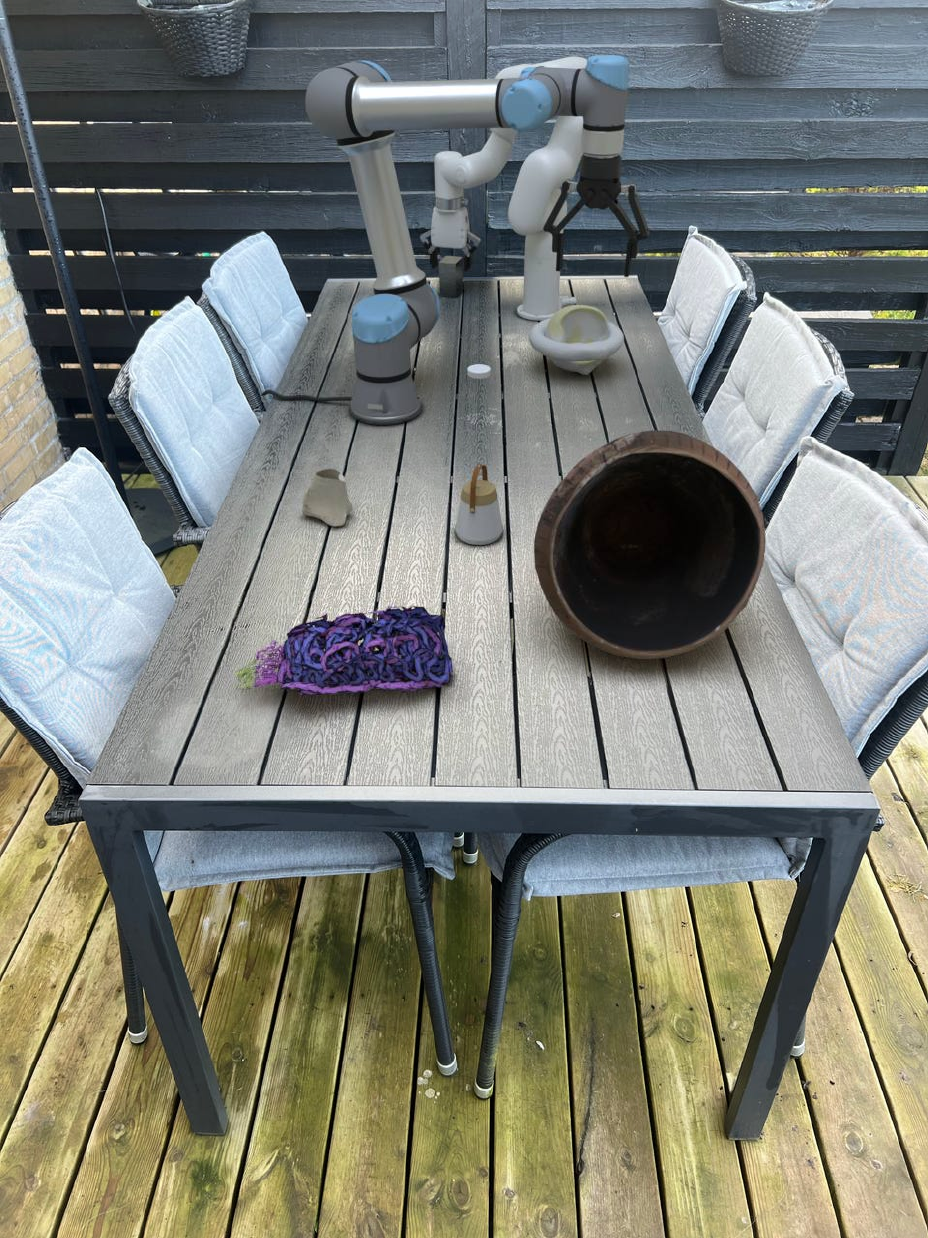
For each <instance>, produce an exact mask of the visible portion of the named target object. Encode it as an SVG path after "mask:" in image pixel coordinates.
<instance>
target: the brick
mask: <svg viewBox="0 0 928 1238" xmlns="http://www.w3.org/2000/svg"><path fill="white" fill-rule="evenodd" d="M438 285H439V286H438V287H439V289H438V290H439V297H443V298H444V297H446V298H458V297H459V296H460V295H461V293H462V292H463V291H464V256H454V255H445V256H444V257H443V258H441V260H439V261H438Z"/></svg>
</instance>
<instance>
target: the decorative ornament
mask: <svg viewBox="0 0 928 1238" xmlns="http://www.w3.org/2000/svg"><path fill="white" fill-rule="evenodd" d="M401 608H402V609H400V607H398V606H391V605H390V606H387V608H386V609H385V610H375V611H369V612H357V613H347V612H346V613H345V614H341V615H339V616H336V617H335V619H333V620H328V613H325V614H323V615H322V616H317V617H316V618H314V620H313V621H309V622H303V623H300V624H298V625H294V627H292V628H291V629H290V630H289V631H288V632H287V633H286V636H287V639H286V640H284V643H283V644H280V645H278V646H277V644H278V641H277V640H274V639H273V640H272V641H270V643H268V644H269V646H265V649H264V648H262V649H261V650H260V651H259V650H258V651H257V653H256V655H255V656H254V657H255V658H254V659H253V660H252V661H250V663H248V664H247V665H245V666H243V667H241V668H239V669H238V670H236V673H235V675H236V677H235V679H238V681H239V683H238V684H237V686H236V688H235V690H238V689H240V687H239V686H242V685H243V684H244V685H243V686H242V687H241V689H242V690H241V693H243V692H244V690H251V689H260V688H261V689H260V690H262V691H263V688H264V686H266V688H267V690H268V689H269V690H270V689H273V687H269V688H268V686H271V685H276V689H280V690H285V692H286V693H289V691H290V690H298V691H297V693H298V695H301V696H310V697H311V696H312V697H317V696H331V695H342V694H347V693H348V694H365V693H370V690H395V691H397V690H402V691H403V692H404V693H405V692H419V691H420V690H421V689H433V688H434V689H436V688H438V689H439V688H442V684H444V683H445V684H446V683H450V680H451V677H452V673H453V672H454V670H453V658H452V657H451V656H450V654H449V652H450V651H449V647H448V643H447V640H446V635H445V633H444V630H445V629H446V621H445V617H444V616H443V614H430V613H429V612H428V610H427V609H426V608H425V607H424V606H419V605H418V606H416V605H412V606H410V607H405V606H401ZM366 614H376V618H377V619H376V618H375V619H374V618H370V617H368V616H367V615H366ZM373 621H375V622H373ZM360 641H361V642H360ZM359 642H360V644H359ZM276 646H277V647H276ZM376 649H377V650H376ZM265 653H267V655H265ZM251 666H253V667H251ZM265 666H266V667H265ZM253 674H254V675H253ZM425 675H426V676H425ZM278 685H280V686H278ZM277 686H278V687H277Z"/></svg>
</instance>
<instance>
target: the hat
mask: <svg viewBox="0 0 928 1238" xmlns="http://www.w3.org/2000/svg"><path fill="white" fill-rule="evenodd" d="M528 341H529V345H530V346H531V347H532V348H533V350H535V351H536V352H537V353H538V354H541V355H543V356H545V357H548V358H549V359H550V360H551V361H552V363H553V364H554V365H555V366H556V367H558V368H560V369H562V370H563V371H568V372H573V373H578V374H581V375H583V376H587V375H589V374H590V373H591V372H593V371H594V369H595V368H596V367H597V366H599V365H600V364H601V363H602V362H603V361H604V360H605V359H606V358H608V357H612V356H613V355H615V354H616V353H617V352H619V350H621V348H622V347H623V345H624V342H625V335H624V332H623V331H622V330H621V328H619V326H617V325H616V324H614V323H612V322H610V321H609V320H608V318H607V317H606V315H605V313H604V312H603V311H602V310H601V309H600V308H598V307H595V306H591V305H586V304H574V305H566V306H564V307H563V308H562V309H560V310H559V311H557V312H556V313H555V314H554V315H553V316H552V318H549V319H547V320H544V321H539V322H538V323H536V324H535V325H534V326H532V328H531V329H530V331H529V333H528Z"/></svg>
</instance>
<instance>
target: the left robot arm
mask: <svg viewBox="0 0 928 1238" xmlns="http://www.w3.org/2000/svg"><path fill="white" fill-rule="evenodd" d="M586 60H587V65H586V66H585V68H582V69H571V68H553V67H544V66H539V67H526V68H524V69H523V70H522V72H521V75H520V76H519V78H506V79H495V78H481V79H480V78H478V79H477V78H475V79H473V78H472V79H448V80H446V79H444V80H418V81H417V80H415V81H413V80H412V81H393V80H392V78H391V77H390V75H389V74H388V73H387V71H386V69H384V68H382V67H381V65H379V64H377V63H375V62H373V61H371V60H364V59H363V60H350V61H348V62H345V63H343V64H340V65H337V66H333V67H330V68H326V69H324V70H321V71H320V72H319V73H317V74H315V76H314V77H313V78H312V79H311V81H310V82H309V84H308V86H307V89H306V92H305V99H304V101H305V102H304V103H305V111H306V115H307V117H308V120H309V121H310V123H311V125H312V126H313V127H314V128H315V130H317V132H319V133H320V134H321V135H323V136H325V137H327V138H329V139H333V140H336V143H337V144H336V145H337V147H338V148H339V149H340V150H342V151H343V152H344V153H345V154H346V155H347V156H348V157H347V158H348V161H349V164H350V169H351V173H352V177H353V180H354V181H353V182H354V185H355V189H356V193H357V197H358V201H359V205H360V209H361V214H362V218H363V221H364V227H365V230H366V234H367V238H368V243H369V247H370V251H371V254H372V260H373V263H374V267H375V271H376V278H375V280H374V282H373V284H372V289H373V294H372V295H371V296H366V297H364V298H362V299H361V300H358V302H356V303H355V305H354V307H353V308H352V310H351V311H352V312H351V322H350V324H351V331H352V341H353V352H354V363H355V364H354V365H355V373H356V374H355V375H356V379H355V383H354V388H353V395H352V396H329V397H328V396H327V397H326V396H325V397H319V396H314V395H313V396H312V395H308V394H295V395H283V394H280V393H278V392H276V391H275V390H272V389H266V390H263V392H262V393H261V394H260V395H261V396H262V397H266V396H267V395H272V396H274V397H275V398H278V399H280V400H285V401H293V400H309V401H314V402H350V413H351V415H352V417H353V418H354V419H356V420H357V421H359V422H362V423H364V424H369V425H375V426H393V425H398V424H403V423H406V422H409V421H411V420H413V419H415V418H417V416H419V415H420V413H421V411H422V401H421V396H420V395H419V393H418V390H417V386H416V385H415V381H414V378H413V377H412V363H411V362H412V361H411V350H412V349H413V348H414V347H415V346H416V345H417V344H418V343H419V342H420V341H422V340H423V339H424V338H426V337H427V336H428V335H429V334H430V333H431V332H432V330H433V329H434V328H435V327H436V325H437V324H438V321H439V318H440V314H441V302H440V299H439V295H438V293H437V291H436V290H435V288H434V287H432V286H431V285H430V283H429V282H428V279H427V275H426V273H425V272H424V271H423V270H421V269H420V268H419V267H417V262H416V258H415V257H416V256H415V253H414V249H413V244H412V239H411V236H410V231H409V227H408V222H407V217H406V212H405V208H404V203H403V199H402V198H403V197H402V195H401V190H400V186H399V181H398V177H397V171H396V167H395V162H394V158H393V153H392V149H391V142H392V141H393V139H394V137H395V136H396V131H410V130H412V131H414V130H416V131H418V130H458V129H460V130H462V129H490V128H512V129H514V130H516V131H518V133H519V132H521V133H526V132H527V133H528V132H532V131H535V130H538V129H539V128H541V127H542V126H543V125H544V124H545V123H546V122H548V121H549V120H551V119H553V118H554V117H558V116H575V117H579V116H582V117H583V131H582V146H581V151H582V152H583V154H582V156H581V159H580V162H579V164H580V165H579V166H580V167H579V180H578V182H577V181H573V180H570V179H566V180H565V181H564V182H563V184H562V187H561V189H560V190H561V194H560V196H559V198H558V200H557V202H556V204H555V206H554V208H553V210H552V212H551V214H550V216H549V217H548V219H547V221H546V223H545V225H544V227H543V230H544V231H545V232H549V233H551V234H552V252H557V257H556V271H560V272H561V270H562V269H563V266H564V246H565V245H564V244H565V232H563V233H560V231H561V230H562V229H563V228H564V229H565V227H567V225H568V224H569V223H570V222H571V221H572V219H573V218H574V217H575V216H576V215H577V214H578V213H579V211H581V209H582V208H583V207H584V206H585V207H586V208H588V209H590V210H593V209H598V210H602V211H603V210H604V211H605V210H607V209H609V210H610V211H611V213H612V214H613V215H614V216H615V217H616V220H618V222H619V224H620V225H621V226H622V229H624V231H625V232H626V234H627V235H628V237H629V239H628V240H627V243H626V253H625V264H624V274H623V275H624V276H623V277H624V278H629V276H630V275H631V270H632V259H633V260H635V259H636V258H637V256H638V254H639V247H640V246H639V244H640V241H642V240H646V239H648V237H649V236H650V228H649V226H648V224H647V223H648V222H647V221H646V217H645V215H644V212H643V209H642V207H641V204H640V200H639V198H638V185H637V183H635V182H632V183H630V184H622V182H621V174H622V164H623V163H622V162H623V157H622V156H621V153H623V149H624V138H625V125H626V124H625V123H626V115H627V114H626V113H627V102H628V94H629V89H630V86H629V72H630V71H629V68H630V67H629V66H630V64H629V60H628V59H627V58H626V57H625V56H622V55H617V54H595V55H591V56H589V57H588V58H587V59H586ZM574 190H576V192H577V193H578V196H579V197H580V199H579V200H578V201H577V202H576V204H574V206H573V207H572V208H571V209H570V211H568V212H567V215H566V216H565V217H564V218H563V219H562V221H561V222H560V223H559V224H558V225H557V226H555V225H553V223H554V222H555V220H556V218H557V216H558V214H559V212H560V210H561V208H562V206H563V205H564V203H565V201H567V199H568V197H569V195H571V194H573V192H574ZM621 193H623V194H624V197H625V198H626V199H628V204H629V205H630V206H629V207H630V209H631V213H632V215H633V218H634V221H635V223H636V225H637V226H635V225H634V223H633V221H632V220H631V219H630V217H629V216H628V214H627V212H626V211H625V209H624V208H623V207H622V205H621V202H620V201H619V199H618V197H619V196H620V195H621ZM637 228H638V229H637Z"/></svg>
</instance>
